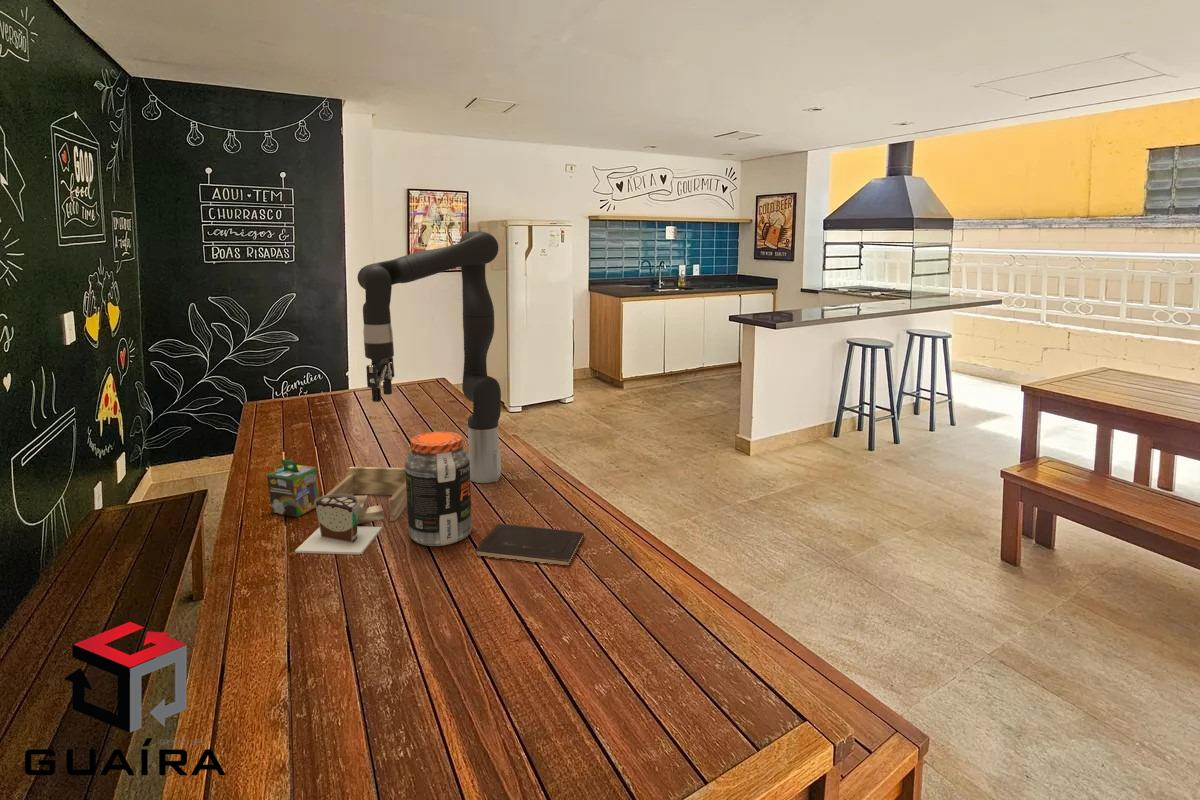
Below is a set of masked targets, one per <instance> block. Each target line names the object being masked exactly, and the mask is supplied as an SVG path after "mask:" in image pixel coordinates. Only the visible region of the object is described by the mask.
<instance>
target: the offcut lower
mask: <svg viewBox="0 0 1200 800" xmlns="http://www.w3.org/2000/svg"><path fill="white" fill-rule="evenodd" d="M380 519H382V520H384V519H385V518H384V509H383V508H382V506H381V504H378V505H373V506H368V508H367V511H366V513H365V516H364V518H358V521H357V525H360V524H365V522H366V523H371V522H376V521H375V520H377V521H381V520H380Z"/></svg>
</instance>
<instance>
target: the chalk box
mask: <svg viewBox="0 0 1200 800" xmlns="http://www.w3.org/2000/svg"><path fill="white" fill-rule="evenodd" d="M280 462H281V464H282V467H280V468H278V469H276V470H275V471H272V472H270V473H267V474H266V477H267V486H268V493H269V499H270V500H269V501H270V508H271V513H272V514H276V513H278V514H277V515H283V516H286V517H287V516H288V517H293V518H299V517H301V516H303V515H305V514H307V513H308V512H310V511H312V510H314V509H316V506H315V507H314V501H315V499H317V498H319V497H321V496H320V495H321V494H320V488H319V481H318V473H317V467H316V466H311V465H303V464H302V465H301V464H300V465H299V464H297V463H296V461H294V460H291V459H290V460H289V459H283V458H282V459H280ZM288 464H289V465H288Z"/></svg>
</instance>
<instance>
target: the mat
mask: <svg viewBox="0 0 1200 800" xmlns="http://www.w3.org/2000/svg"><path fill="white" fill-rule="evenodd" d="M382 530H383V527H382V526H360V525H359V526H358V525H357V539H356V541H355V542H353V543H349V542H344V541H338V540H333V539H328V538H323V537H321V532H320V527H319V526H318V528H317V529H315V530H314V532H313V533H312V534H310V535H309V536H308V537H307V538H306V540H304V541H303V542H302V544H300V545H299V546H298V547H297V548H296V549H295V550H294V552H295V554H320V555H321V554H324V555H325V554H326V555H327V554H328V555H329V554H330V555H331V554H332V555H355V556H356V555H358V556H360V554H361V555H362V554H363V553H364V552H365V551H366V550H367V548H368V547H369V546H370V545H371V544H372V542H374V540H375V538H377V536H378V535H379V534H380V532H381V531H382Z"/></svg>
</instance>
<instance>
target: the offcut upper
mask: <svg viewBox="0 0 1200 800" xmlns="http://www.w3.org/2000/svg"><path fill="white" fill-rule="evenodd" d="M368 495H369V494H363V495H354V496H355V497H356V498H357V499H358V501H359V503H360V507H361V508H360V510H359V511H358V518H364V516H365V513H366V511H367V508H368V507H369V496H368Z"/></svg>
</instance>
